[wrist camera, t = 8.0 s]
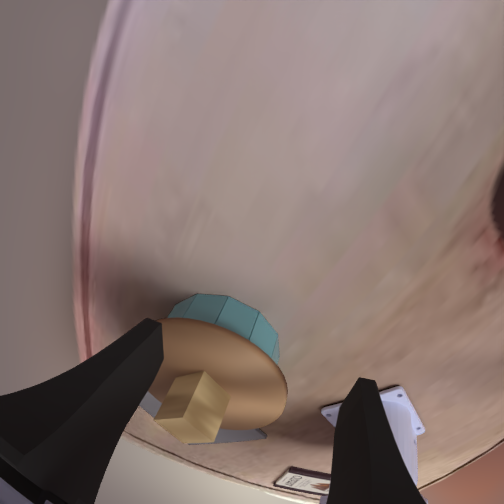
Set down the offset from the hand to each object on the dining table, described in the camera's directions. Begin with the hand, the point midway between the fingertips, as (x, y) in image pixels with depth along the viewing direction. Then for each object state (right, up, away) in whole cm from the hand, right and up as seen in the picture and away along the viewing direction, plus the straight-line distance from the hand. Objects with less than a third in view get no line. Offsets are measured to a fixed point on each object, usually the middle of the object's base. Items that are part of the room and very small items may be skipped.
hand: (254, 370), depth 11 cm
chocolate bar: (+13, -30, +27) cm, 42 cm away
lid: (-3, -5, +12) cm, 13 cm away
